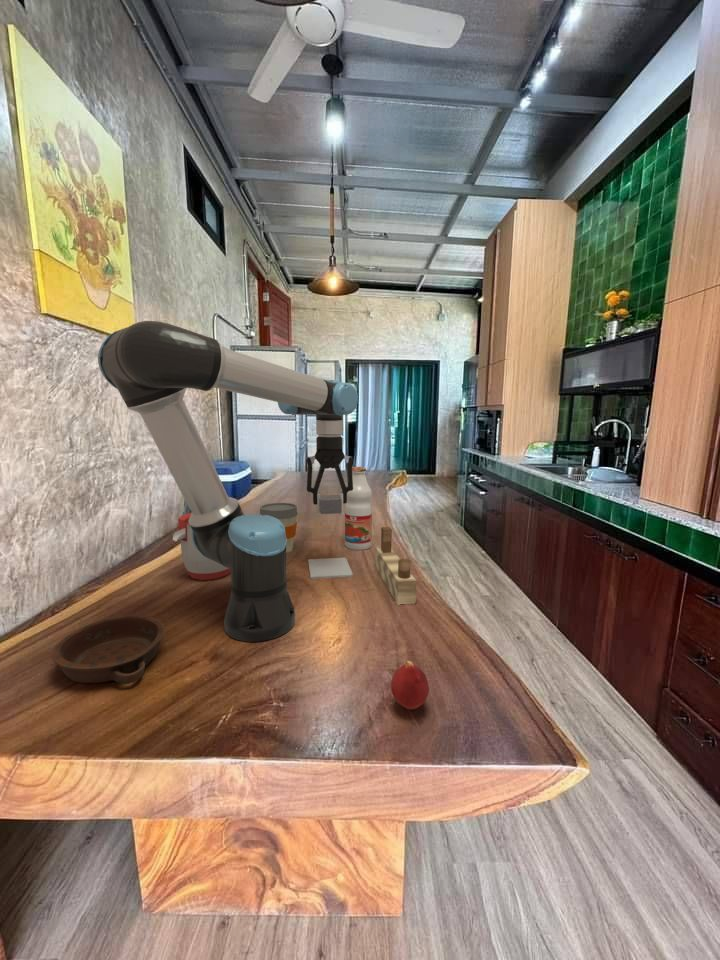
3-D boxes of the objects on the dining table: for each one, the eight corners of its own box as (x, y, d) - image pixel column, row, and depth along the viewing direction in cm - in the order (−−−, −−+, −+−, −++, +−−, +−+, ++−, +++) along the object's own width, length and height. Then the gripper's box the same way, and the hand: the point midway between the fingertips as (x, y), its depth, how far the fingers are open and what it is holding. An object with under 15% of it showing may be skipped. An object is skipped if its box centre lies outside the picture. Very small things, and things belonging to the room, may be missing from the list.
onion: (424, 695, 66) (425, 650, 65) (431, 721, 61) (433, 673, 59) (388, 695, 66) (390, 650, 65) (392, 721, 60) (394, 673, 59)
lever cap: (341, 513, 115) (341, 499, 114) (320, 514, 114) (320, 500, 113) (338, 507, 122) (338, 494, 121) (318, 508, 121) (318, 495, 120)
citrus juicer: (167, 573, 116) (162, 505, 113) (225, 559, 127) (223, 497, 124) (186, 591, 104) (181, 516, 101) (248, 574, 116) (246, 506, 112)
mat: (352, 576, 115) (352, 574, 115) (310, 579, 113) (310, 576, 113) (346, 559, 128) (346, 557, 128) (308, 561, 126) (308, 559, 126)
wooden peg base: (415, 603, 99) (417, 553, 97) (397, 605, 98) (399, 553, 96) (389, 565, 124) (390, 524, 122) (375, 566, 123) (376, 524, 121)
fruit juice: (375, 544, 144) (377, 467, 139) (363, 552, 135) (364, 470, 131) (352, 540, 148) (353, 465, 143) (339, 547, 140) (340, 468, 135)
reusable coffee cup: (253, 553, 133) (252, 509, 131) (272, 542, 145) (271, 501, 143) (287, 557, 130) (286, 512, 127) (304, 545, 141) (303, 504, 139)
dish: (71, 718, 61) (67, 688, 60) (43, 657, 76) (40, 633, 75) (186, 667, 73) (184, 642, 72) (142, 623, 88) (141, 602, 87)
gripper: (360, 434, 120) (359, 510, 123) (295, 435, 116) (297, 512, 120) (364, 436, 112) (364, 516, 116) (295, 436, 109) (297, 519, 113)
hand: (330, 514), depth 118 cm, fingers closed on lever cap, 6 cm apart
